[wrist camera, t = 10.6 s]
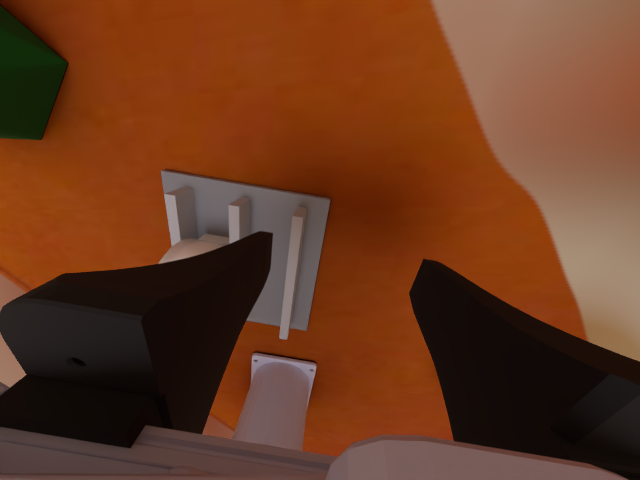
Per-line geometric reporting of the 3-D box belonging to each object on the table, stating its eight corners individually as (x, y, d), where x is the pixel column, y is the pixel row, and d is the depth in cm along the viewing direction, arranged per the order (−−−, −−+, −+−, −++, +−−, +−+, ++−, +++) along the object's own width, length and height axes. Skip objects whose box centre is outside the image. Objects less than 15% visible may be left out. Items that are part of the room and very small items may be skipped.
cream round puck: (233, 297, 24) (188, 370, 17) (209, 293, 24) (154, 364, 17) (232, 228, 20) (174, 281, 13) (204, 223, 20) (131, 274, 13)
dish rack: (307, 326, 26) (303, 349, 23) (184, 305, 26) (166, 326, 23) (330, 198, 19) (329, 209, 16) (165, 169, 19) (137, 175, 16)
